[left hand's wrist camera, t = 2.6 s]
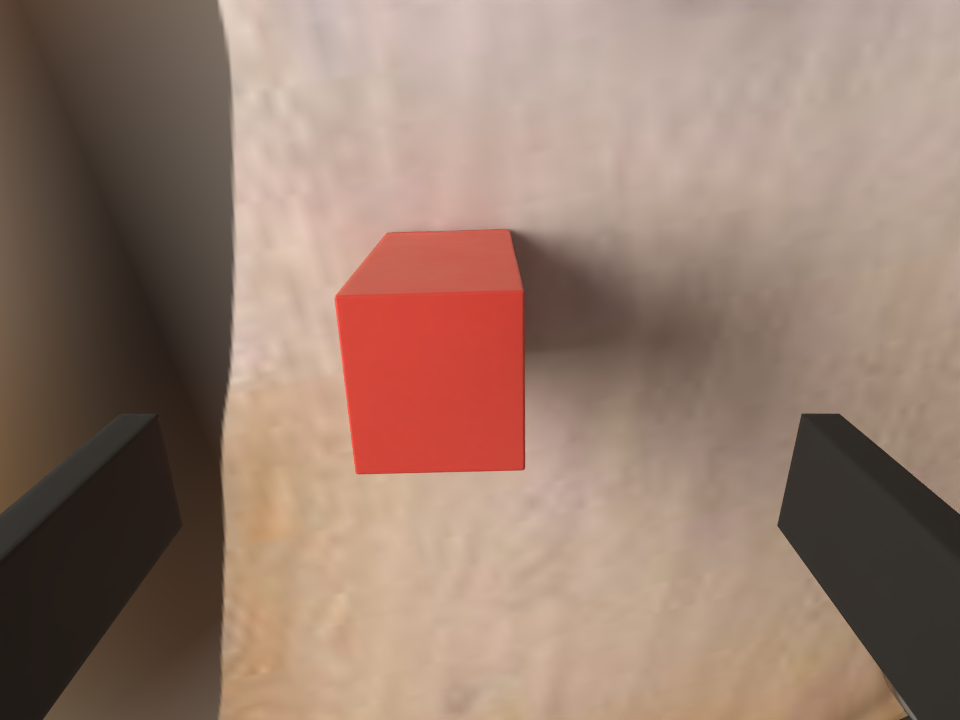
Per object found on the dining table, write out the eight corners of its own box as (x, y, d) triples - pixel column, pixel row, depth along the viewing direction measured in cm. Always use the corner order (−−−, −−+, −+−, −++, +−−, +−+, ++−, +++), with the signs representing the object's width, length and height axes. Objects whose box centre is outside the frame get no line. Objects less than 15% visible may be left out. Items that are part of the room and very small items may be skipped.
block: (511, 354, 32) (525, 471, 21) (396, 357, 32) (355, 475, 21) (509, 228, 29) (524, 290, 19) (386, 232, 30) (333, 295, 19)
